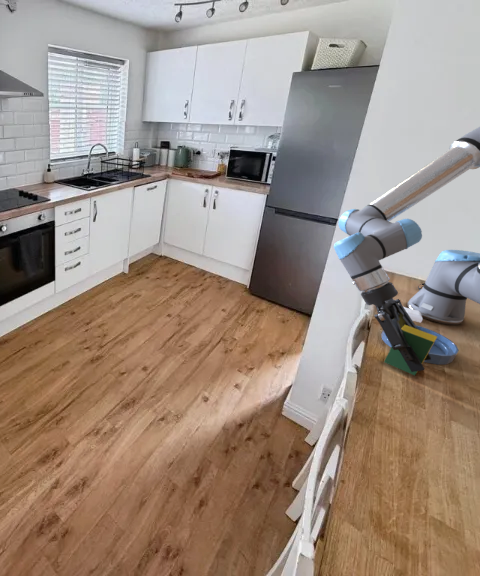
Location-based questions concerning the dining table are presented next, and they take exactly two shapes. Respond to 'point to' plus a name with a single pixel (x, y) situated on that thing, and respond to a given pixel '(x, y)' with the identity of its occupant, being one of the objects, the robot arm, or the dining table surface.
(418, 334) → the sponge
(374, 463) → the dining table surface
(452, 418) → the dining table surface
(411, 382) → the dining table surface
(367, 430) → the dining table surface
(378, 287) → the robot arm
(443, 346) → the bowl
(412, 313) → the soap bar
